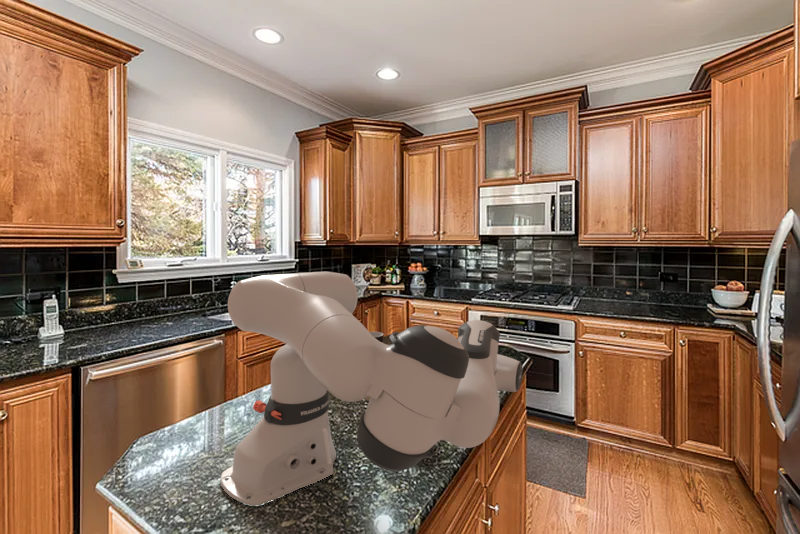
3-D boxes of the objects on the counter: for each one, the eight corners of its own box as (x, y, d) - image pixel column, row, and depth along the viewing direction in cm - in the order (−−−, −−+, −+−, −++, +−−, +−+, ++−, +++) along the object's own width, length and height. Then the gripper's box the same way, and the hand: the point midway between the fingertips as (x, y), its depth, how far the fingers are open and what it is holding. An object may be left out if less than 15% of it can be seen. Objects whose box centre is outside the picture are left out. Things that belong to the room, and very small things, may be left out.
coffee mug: (370, 355, 151) (370, 330, 151) (388, 359, 146) (388, 333, 146) (350, 363, 142) (350, 337, 141) (368, 368, 137) (368, 340, 136)
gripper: (443, 386, 97) (401, 374, 106) (481, 365, 113) (442, 356, 122) (443, 362, 97) (400, 352, 106) (481, 344, 113) (442, 337, 121)
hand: (423, 354), depth 114 cm, fingers closed on soda can, 5 cm apart
